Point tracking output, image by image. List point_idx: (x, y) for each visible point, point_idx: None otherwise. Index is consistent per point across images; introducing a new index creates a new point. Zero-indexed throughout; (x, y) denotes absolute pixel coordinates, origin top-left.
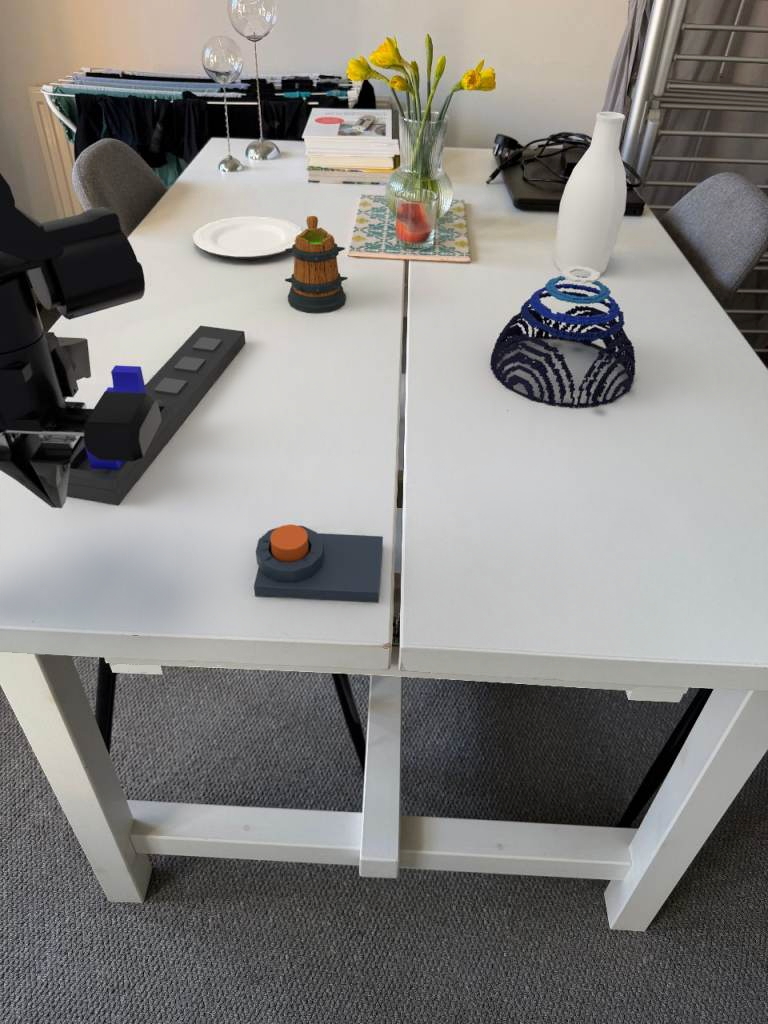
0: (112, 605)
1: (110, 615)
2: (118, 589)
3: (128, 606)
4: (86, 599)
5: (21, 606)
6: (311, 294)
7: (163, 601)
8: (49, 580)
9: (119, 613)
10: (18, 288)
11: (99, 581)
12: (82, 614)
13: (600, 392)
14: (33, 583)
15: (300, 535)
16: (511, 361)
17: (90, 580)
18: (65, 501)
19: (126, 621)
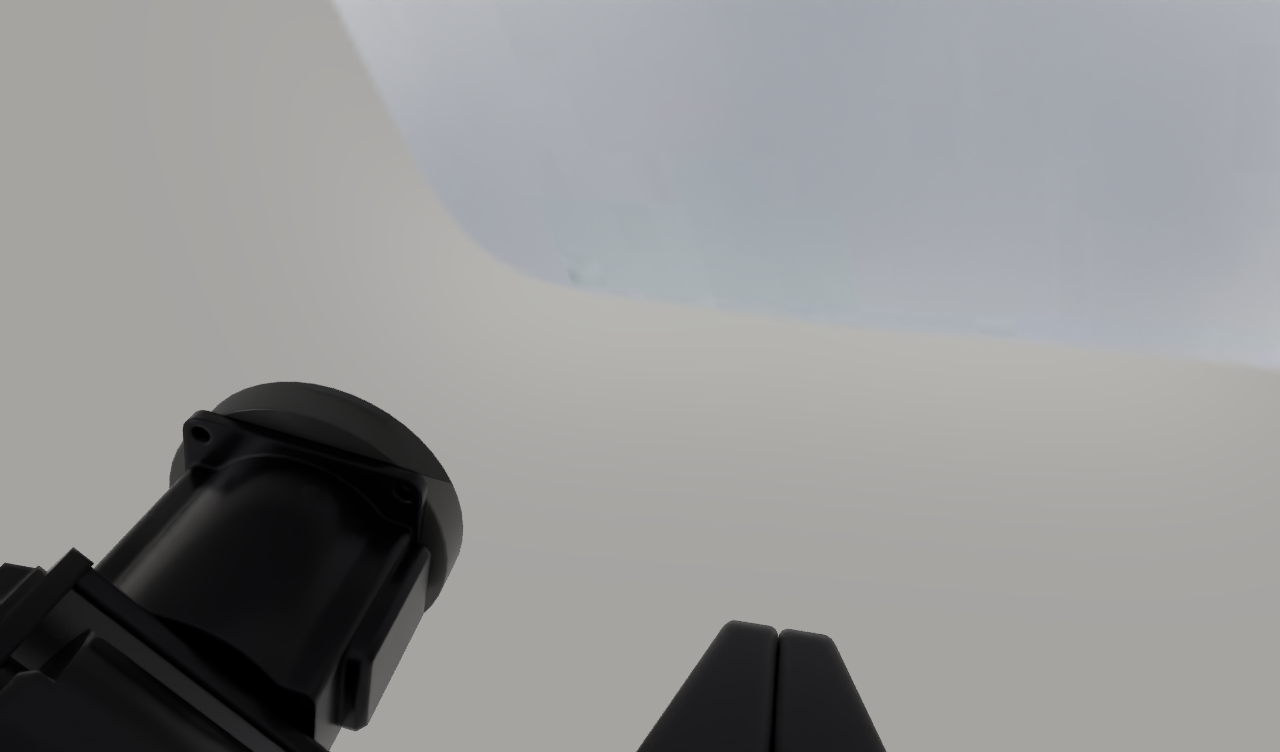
0: (920, 199)
1: (919, 261)
2: (937, 86)
3: (1006, 209)
4: (777, 154)
5: (483, 188)
6: None
7: (1201, 181)
8: (543, 10)
9: (963, 251)
10: None
11: (818, 20)
12: (782, 249)
13: None
14: (471, 33)
15: None
16: None
17: (765, 12)
18: (826, 636)
19: (1004, 300)
